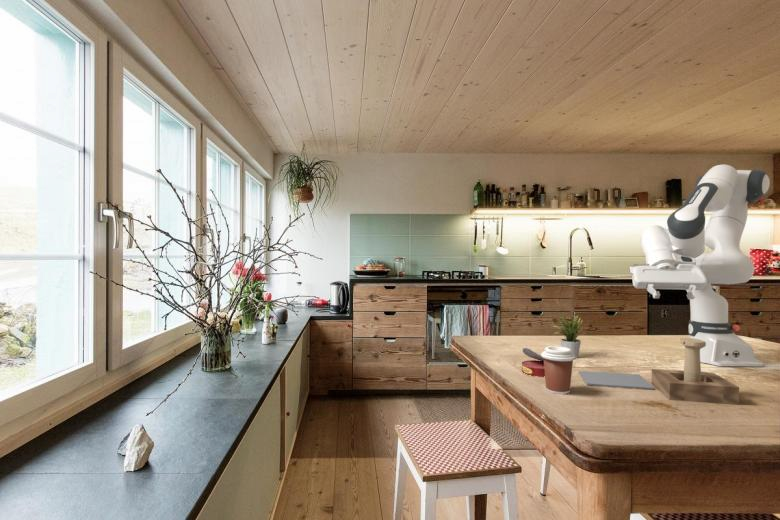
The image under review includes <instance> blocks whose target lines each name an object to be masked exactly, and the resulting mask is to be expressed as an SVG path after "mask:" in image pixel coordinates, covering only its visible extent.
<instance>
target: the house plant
mask: <svg viewBox="0 0 780 520" xmlns="http://www.w3.org/2000/svg"><path fill="white" fill-rule="evenodd" d="M574 315H575V314H572V316H571V318H570V322H569V320H568V319H567V317H566V316H565V315H563V316H560V315H559V317H560V318H561V319H560V320H557V319H556V318H554V321H556V322H557V323H561V324H560V326H557V325H551V327H553V328H555V329H554V330H556V331H555V332H554V334H555V336H556V334H557V335H558V334H559V333H560V334H561V335H563V337H564V338H560V345H561V347H566V348H569V349H571V350H572V353H573V354H574V355H575V359H578V358H579V353H580V349H581V344H582V341H581V339H577V338H578V337H579V336H580V334H581V333H584V332H589V331H588V330H584V331H583V330H582V331H580V332H578V331H579V330H580V328H581V327H582V326H583V325H584V324H586V321H584V322H583V320H581V317H580V318H579V319H578V317H579V315H576V316H574ZM550 319H553V317H552V318H550ZM580 320H581V321H580ZM582 322H583V323H582ZM556 328H557V329H556ZM557 330H558V331H557ZM559 330H560V331H559Z"/></svg>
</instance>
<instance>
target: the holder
mask: <svg viewBox="0 0 780 520" xmlns="http://www.w3.org/2000/svg"><path fill="white" fill-rule="evenodd" d="M651 385H652V386H653V387H654V388H655V389H657V390H658V391H659V392H660V393H661V394H662V395H664V396H665V397H666V398H667V399H668V400H669V401H684V402H685V401H686V402H699V403H709V404H710V403H712V404H713V403H714V404H726V405H740V387H739V386H737V385H736V384H734V383H732V382H731V381H729V380H727V379H725V378H724V377H722V376H720V375H718V374H716V373H715V372H708V371H701V382H695V381H684V370H671V369H655V368H654V369H652V368H651Z"/></svg>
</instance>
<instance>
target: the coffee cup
mask: <svg viewBox="0 0 780 520" xmlns="http://www.w3.org/2000/svg"><path fill="white" fill-rule="evenodd" d="M540 356H542V358H544V370H545V377H544V378H545V379H544V380H545V390H546V391H547V392H548V391H549V392H548V393H550V392H553V393H552V394H554V393H559V394H558V395H568V394H570V393H571V383H572V376H573V375H572V374H573V363H574V361H575V360H576V358H575V355H574V354H573V353H572V350H571V349H569V348H566V347H562V346H557V345H550V346H546V347H545V348H544V350H543V351H542V352H541V354H540ZM569 392H570V393H569ZM567 393H568V394H567Z"/></svg>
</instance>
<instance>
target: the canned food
mask: <svg viewBox="0 0 780 520" xmlns="http://www.w3.org/2000/svg"><path fill="white" fill-rule="evenodd" d="M522 353H523V354H524V355H525V356H527V357H529V358H532V359H534V360H529V359H528V360H524V361H522V362H521V373H522V372H523V373H522V374H524V373H525V374H524V375H526V374H527V376H529V375H531V376H530V377H535V376H538V377H537V378H545V377H544V376H545V370H544V358H542V356H541V354H539V353H538V352H536V351H534V350H532V349H530V348H527V347H523V348H522Z"/></svg>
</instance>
